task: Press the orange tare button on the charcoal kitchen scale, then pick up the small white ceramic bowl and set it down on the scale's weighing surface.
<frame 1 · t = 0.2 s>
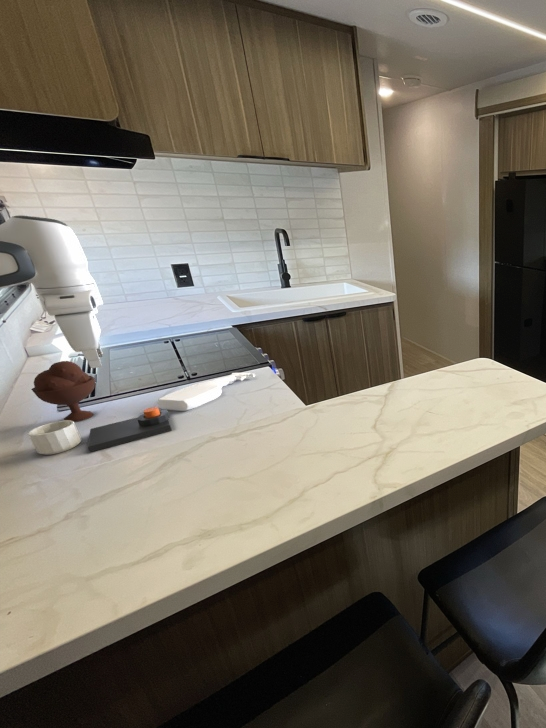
hand: (97, 361, 89), 17 cm above the countertop, tool pointing down, fingers open, 8 cm apart
scale: (132, 432, 94), on the countertop
tare button: (151, 412, 96), point 4 cm above the countertop, slide at 0.2 cm
ice cream bowl: (79, 418, 102), on the countertop
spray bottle: (212, 393, 116), on the countertop
small bowl: (60, 447, 88), on the countertop
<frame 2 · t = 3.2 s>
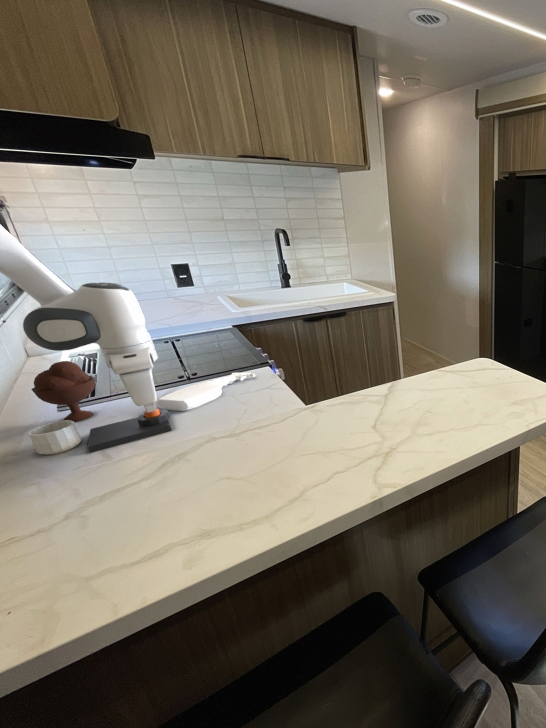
hand: (151, 410, 96), 4 cm above the countertop, tool pointing down, fingers closed, pressing on tare button
tare button: (152, 413, 96), point 3 cm above the countertop, slide at -0.1 cm, touching gripper
everything else where it was.
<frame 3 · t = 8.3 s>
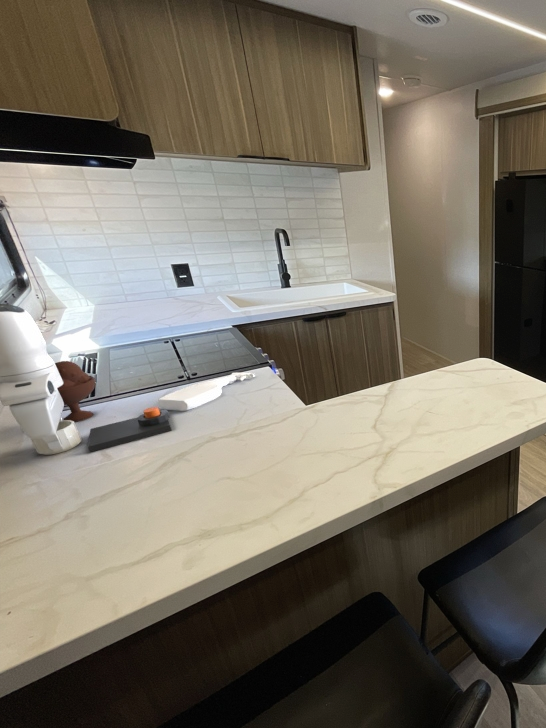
hand: (58, 440, 88), 2 cm above the countertop, tool pointing down, fingers closed on small bowl, 7 cm apart
tare button: (151, 412, 96), point 4 cm above the countertop, slide at 0.2 cm
small bowl: (61, 447, 88), on the countertop, touching gripper
everything else where it was.
when the fingers open (3 cm above the countertop, at t = 15.2 s): small bowl stays where it is, resting on scale.
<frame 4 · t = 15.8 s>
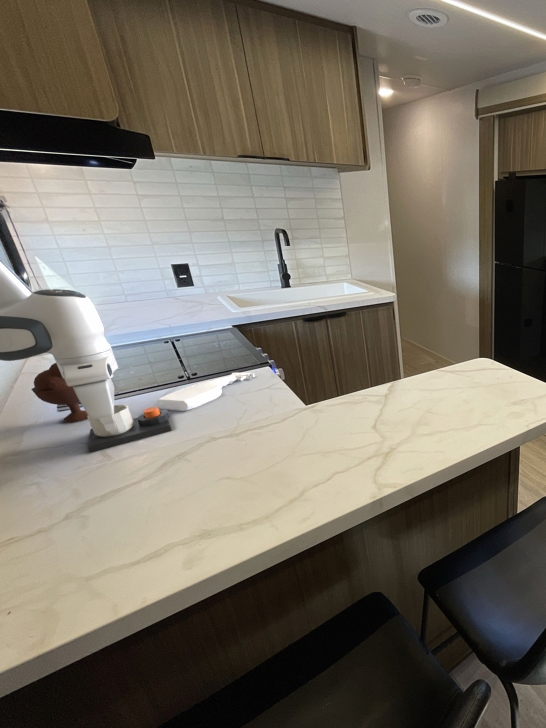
hand: (111, 422, 92), 4 cm above the countertop, tool pointing down, fingers open, 8 cm apart
small bowl: (116, 430, 92), point 1 cm above the countertop, touching scale
everything else where it was.
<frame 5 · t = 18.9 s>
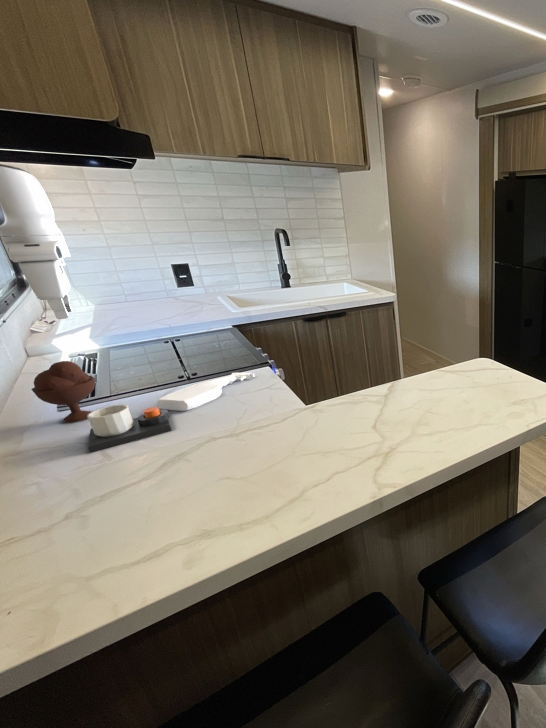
hand: (65, 315, 89), 27 cm above the countertop, tool pointing down, fingers open, 8 cm apart
nothing on the countertop moved.
at the end: tare button pushed in 0.8 cm at the most during the clip, back to 0.2 cm at the end; small bowl inside the target area on the scale (0.1 cm from its centre), point 1.4 cm above the scale's base; small bowl touching scale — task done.
